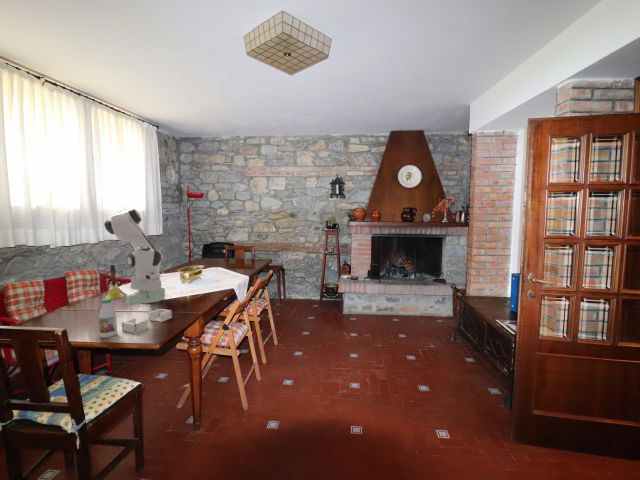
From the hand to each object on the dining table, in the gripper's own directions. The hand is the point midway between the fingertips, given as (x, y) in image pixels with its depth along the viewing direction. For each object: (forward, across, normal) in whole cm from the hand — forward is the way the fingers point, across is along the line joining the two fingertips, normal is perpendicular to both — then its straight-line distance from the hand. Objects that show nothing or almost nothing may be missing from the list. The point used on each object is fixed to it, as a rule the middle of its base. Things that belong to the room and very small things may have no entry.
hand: (146, 297), depth 188 cm
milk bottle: (+16, -6, -20) cm, 26 cm away
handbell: (+16, -73, +35) cm, 83 cm away
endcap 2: (+16, 0, +9) cm, 18 cm away
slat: (+2, 0, 0) cm, 2 cm away
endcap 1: (+16, 0, -9) cm, 18 cm away
